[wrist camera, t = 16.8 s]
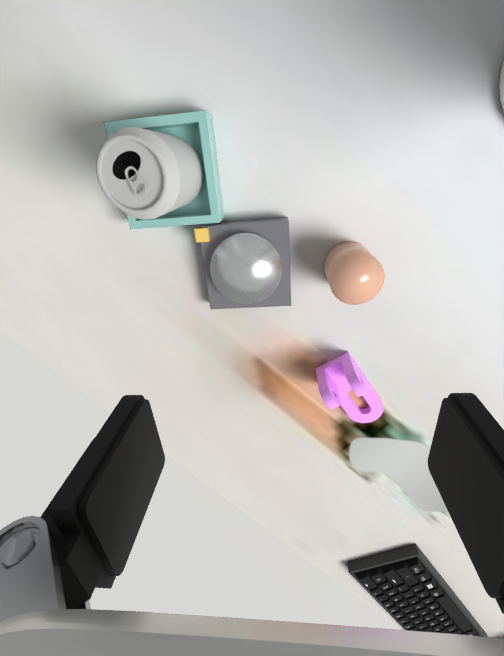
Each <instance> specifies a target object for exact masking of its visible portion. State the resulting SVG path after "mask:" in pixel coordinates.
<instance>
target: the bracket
mask: <svg viewBox="0 0 504 656" xmlns="http://www.w3.org/2000/svg"><path fill="white" fill-rule="evenodd" d="M316 374H317V381H318V387H319V391H320V394H321V397H322V399H323V400H324V402H325V404H326V405H327V407H328V408H329V409H331V410H332V409H334V408H336V407H338V406H340V405H341V406H342V408H343V409H344V410H345V412H346V413H347V414H348V416H349V417H350V418H351V419H352V420H354V421H356V422H359V423H368V422H372V421H374V420H376V419H378V418H379V417H380V416H381V414H382V413H383V404H382V402H381V399H380V397H379V396H378V394H377V393H376V391H375V390H374V389H373V387H372V386H371V384H370V383H369V381H368V380H367V378H366V377H365V375H364V374H363V373H362V371H361V370H360V368H359V367H358V365H357V364H356V362H355V361H354V359H353V358H352V357H351V355H350V354H349V352H346V353H344V354H342V355H340V356H338V357H337V358H335V359H333V360H331V361H329V362H327V363H325V364H323V365H321V366H319V367H317V368H316ZM350 390H353V391H354V393H355V394H356V395H357V396H358V397H360V396H363V397H364V399H365V400H366V402H367V403H368V404H369V406H368V407H367V408H365V409H361V408H359V407H358V406H357V405H356V403H355V402H354V400H353V399H352V398H351V396H350V395H349V394H348V392H349V391H350Z"/></svg>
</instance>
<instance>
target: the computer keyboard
mask: <svg viewBox="0 0 504 656" xmlns="http://www.w3.org/2000/svg"><path fill="white" fill-rule="evenodd" d="M347 563H348V569H349V573H350V574H351V575H352V576H353V577H354V578H355V579H356V580H357V581H358V582H359V583H360V584H361V585H362V586H363V587H364V588H365V589H366V590H367V591H368V592H369V593H370V595H371V596H372V597H373V598H374V599H375V600H376V601H377V602H378V603H379V604H380V605H381V606H382V607H383V608H384V609H385V610H386V611H387V612H388V613H389V614H390V615H391V616H392V617H393V618H394V619H395V620H396V621H397V622H398V623H399V624H400V625H401V626H402V627H403V628H404V629H405V630H407V631H420V632H433V633H446V634H459V635H470V636H481V637H488V636H487V634H486V633H485V631H484V630H483V629H482V628H481V626H480V625H479V624H478V622H477V621H476V620H475V619H474V617H473V616H472V615H471V614H470V612H469V611H468V610H467V608H466V607H465V606H464V605H463V603H462V602H461V601H460V600H459V598H458V597H457V596H456V594H455V593H454V592H453V591H452V589H451V588H450V587H449V586H448V584H447V583H446V582H445V580H444V579H443V578H442V577H441V575H440V574H439V573H438V571H437V570H436V569H435V568H434V566H433V565H432V564H431V563H430V561H429V560H428V559H427V557H426V556H425V555H424V554H423V552H422V551H421V550H420V549H419V547H418V546H417V545H416V543H415V544H411V545H408V546H404V547H400V548H397V549H393V550H389V551H386V552H382V553H378V554H375V555H371V556H367V557H364V558H360V559H356V560H353V561H349V562H347Z"/></svg>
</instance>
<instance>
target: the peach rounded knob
mask: <svg viewBox="0 0 504 656" xmlns="http://www.w3.org/2000/svg"><path fill="white" fill-rule="evenodd" d="M324 270H325V274H326V277H327V279H328V282H329V285H330V287H331V290H332V292H333V294H334V295H335V297H336V298H337V299H339V300H340V301H342V302H344V303H346V304H352V305H357V304H362V303H365V302H368V301H369V300H371V299H373V298H374V297H375V296H376V295H377V294H378V293H379V292H380V290H381V288H382V286H383V283H384V277H385V275H384V270H383V267H382V265H381V264H380V263H379V261H378V260H377V259H376V258H375V257H374V256H373V255H372V254H371V253H370V252H369V251H368V250H367V249H366V248H365V247H364V246H363V245H361V244H359V243H355V242H345V243H342V244H339V245H337V246H336V247H334V248H333V249H332V250H331V251H330V252H329V254H328V255H327V257H326V259H325V263H324Z"/></svg>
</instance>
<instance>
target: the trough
mask: <svg viewBox="0 0 504 656" xmlns="http://www.w3.org/2000/svg"><path fill="white" fill-rule="evenodd" d="M104 125H105V129H106V133H107V137H109V136H110V135H111V134H112V133H114V132H116V131H118V130H119V129H121V128H128V127H138V128H142V129H147V130H151V131H155V132H160V133H164V134H168V135H172V136H176V137H180V138H182V139H183V140H185V141H186V142H188V143H189V144H190V145H191V146H192V147H193V149H194V150H195V151H196V152H197V154H198V156H199V159H200V161H201V163H202V169H203V181H202V187H201V189H200V191H199V193H198V195H197V196H196V197H195V198H194V199H193V200H192V201H191V202H190V203H188V204H186V205H184V206H182V207H179V208H177V209H175V210H173V211H171V212H168V213H166V214H164V215H162V216H159V217H157V218H155V219H145V220H142V219H138V218H134V217H130V216H129V215H127V218H128V222H129V226H130V229H140V228H153V227H167V226H180V225H194V224H207V223H220V222H221V221H222V220H223V219H224V213H223V205H222V196H221V188H220V179H219V171H218V163H217V154H216V146H215V137H214V129H213V120H212V114H211V113H209V112H207V111H206V110H205V111H197V112H188V113H179V114H170V115H161V116H153V117H144V118H135V119H126V120H117V121H109V122H104Z"/></svg>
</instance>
